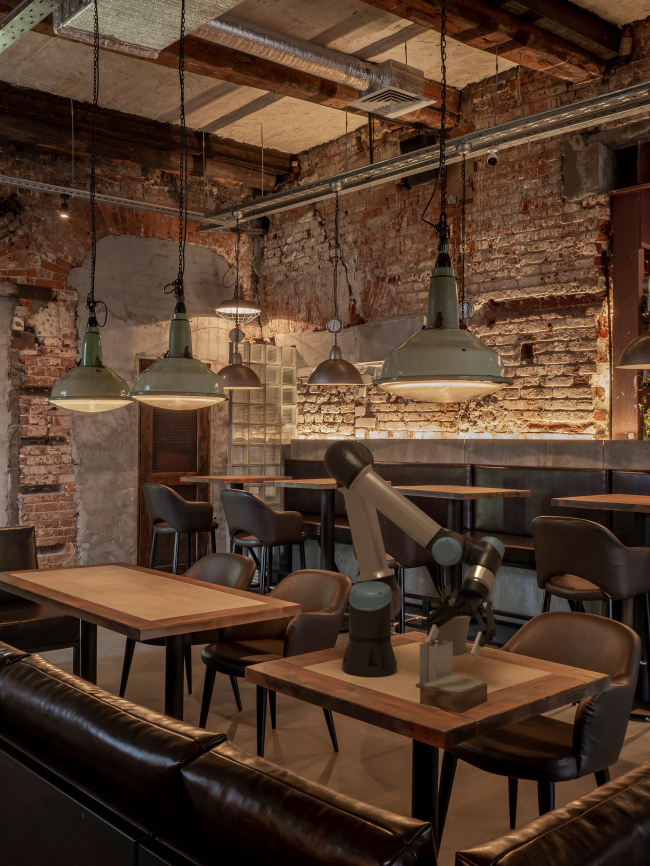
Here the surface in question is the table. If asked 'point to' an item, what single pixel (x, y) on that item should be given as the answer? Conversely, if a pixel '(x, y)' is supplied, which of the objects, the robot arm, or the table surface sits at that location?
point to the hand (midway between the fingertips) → (450, 652)
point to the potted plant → (453, 627)
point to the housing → (435, 660)
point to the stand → (453, 693)
